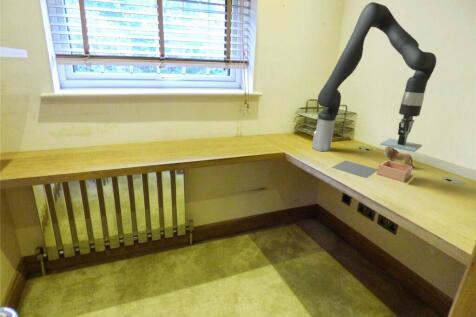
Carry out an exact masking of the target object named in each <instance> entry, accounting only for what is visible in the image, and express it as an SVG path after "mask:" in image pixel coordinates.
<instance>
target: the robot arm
mask: <svg viewBox="0 0 476 317" xmlns="http://www.w3.org/2000/svg"><path fill="white" fill-rule="evenodd" d="M371 28H376V29H378V30H380V31H381V32H383V33H384V35H386V37H387V38H388V40H389V43H390V45H391V46H392V47H393V49H395V51H396V52H398V54H399V55H401V56H402V59H403V60H404V62H405V64H406V66H408V68H410V69H411V70H413V71H414V74H413V75H412V76H411V77H409V78H407V81H406V84H405V89H404V93H403V94H402V97H401V102H400V108H399V109H398V110H399V111H398V114H399V115H402V118H401V119H400V121H399V123H398V129H397V130H398V132H397V135H398V139H397V140H398V144H399V145H403V144H404V140H405V136H406V133H408V135H410V133H411V130H412V128H413V125H414V122H415V119H413V118H414V117H419V116H420V114H421V110H422V106H423V103H424V98H425V97H424V96H425V92H426V90H427V89H426V88H427V84H428V81H429V80H430V79H431V76H432V74H433V72H434V70H435V68H436V65H437V57H436V55H435V53H433V52H429V51H423V50H421V49H420V48H419V47H420V45H419V43H418V40H416V39H415V38H414V37H413V36H412V35H411V34H410V33H409V32H408V31H407V30H406V29H404V28H403V27H402V25H401V24H400V23H399V22H398V21H397V20H396V18H395V17H394V15H393V14H392V12H391V11H390V9H389V8H388V7H387V6H386V5H384V4H381V3H378V2H375V1H371V2H369V3H367V5H365V6H364V7H363V9H362V11H361V12H360V14H359V17H358V19H357V22H356V25H355V26H354V29H353V32H352V33H351V35H350V38H349V39H348V41H347V43H346V46H345V48H344V49H343V50H342V53H341V55H340V57H339V58H338V61H337V63H336V64H335V66H334V69H333V70H332V72H331V74H330V76H329V77H328V79H327V80H326V82H325V84H324V85H323V86H322V89H321V90H320V92H319V94H318V96H317V103H318V105H319V106H321V107H323V109H322V110H321V111H320V112H319V113H318V115H317V122H316V129H315V131H314V132H313V138H312V144H311V145H312V146H311V148H312V149H314V150H315V151H319V152H329V151H330V150H331V147H332V140H333V135H334V130H335V129H334V128H335V123H336V119H337V117H338V114H339V110H340V106H341V101H342V95H341V92H340V91H339V90H338V89H339V87H340V86H341V85H342V84H343V83H344V81H346V80H347V79H348V78H349V77H350V76H351V75H352V74H353V73H354V71H355V70H356V68H357V67H358V65H359V63H360V61H361V60H362V57H363V53H364V45H365V44H364V43H365V40H366V37H367V36H368V33H369V31H370V29H371Z"/></svg>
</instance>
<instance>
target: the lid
mask: <svg viewBox="0 0 476 317" xmlns="http://www.w3.org/2000/svg"><path fill="white" fill-rule="evenodd" d="M408 135H409V134H408V133H406V136H405V140H404V144H403V145H399V144H398V139H397V138H396V139H395V138H390V137H389V138H388V139H386V140H384V141H382V142H380V146H385V147H392V148H394V149H396V150H403V151H407V152H411V153H415V152H417V151H418V150H420V149H421V148H422V147H423V144H420V143H415V142H411V141H407V140H408Z"/></svg>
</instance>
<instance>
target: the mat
mask: <svg viewBox="0 0 476 317" xmlns="http://www.w3.org/2000/svg"><path fill="white" fill-rule="evenodd" d="M331 168H332V169H335V170H337V171H340V172H345V173H348V174H351V175H354V176H357V177H361V178H363V179H367V178H369V177H370V176H372V175H374V174H375V173H377V171H378V168H375V167H371V166H368V165H363V164H360V163H357V162H354V161H350V160H343V161H342V162H340V163H338V164H336V165H334V166H332V167H331Z"/></svg>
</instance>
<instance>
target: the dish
mask: <svg viewBox="0 0 476 317" xmlns="http://www.w3.org/2000/svg"><path fill="white" fill-rule="evenodd" d="M413 166H414V165H413ZM413 166H412V165H411V166H409V165H408V164H407V165H405V163H400V162H398V161H397V162H396V161H394V162H393V161H390V159H386V160H384V161H382V163H380V164H379V165H378V166H377V169H378V170H377V171H376V176H377V175H378V176H380V177H384V178H388V179H391V180H395V181H397V182H402V183H404V182H406V181H407V180H408V179H409V178H410V177H411V175H412V172H413V168H414V167H413Z"/></svg>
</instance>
